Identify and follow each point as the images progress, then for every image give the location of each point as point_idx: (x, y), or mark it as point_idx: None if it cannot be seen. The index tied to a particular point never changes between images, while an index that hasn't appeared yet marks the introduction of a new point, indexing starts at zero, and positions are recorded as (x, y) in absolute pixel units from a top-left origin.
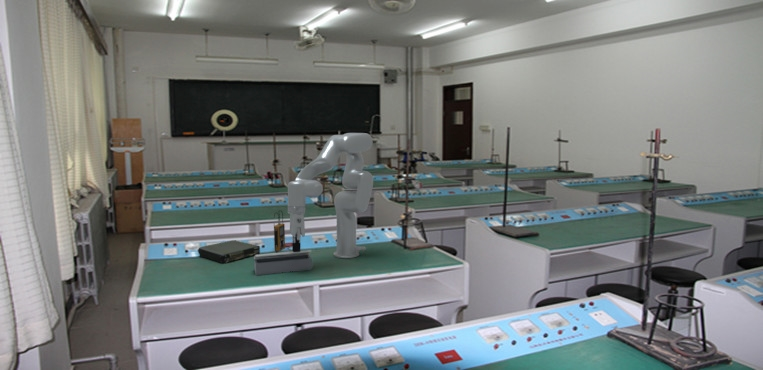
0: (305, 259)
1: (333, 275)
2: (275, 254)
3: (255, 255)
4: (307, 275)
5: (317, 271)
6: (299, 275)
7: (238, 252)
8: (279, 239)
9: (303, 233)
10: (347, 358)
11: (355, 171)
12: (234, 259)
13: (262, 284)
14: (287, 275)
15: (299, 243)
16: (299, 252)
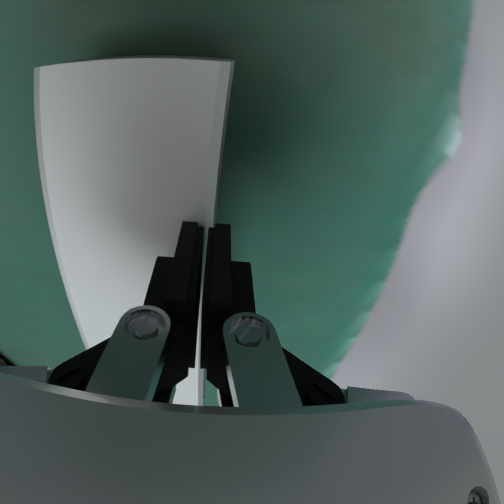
0: (225, 126)
1: (432, 7)
2: (202, 380)
3: None
4: (350, 139)
5: (300, 40)
6: (321, 183)
7: None
8: None
9: (477, 464)
10: None
11: None
12: (6, 365)
13: (340, 346)
14: (281, 244)
15: (229, 307)
16: (212, 219)
